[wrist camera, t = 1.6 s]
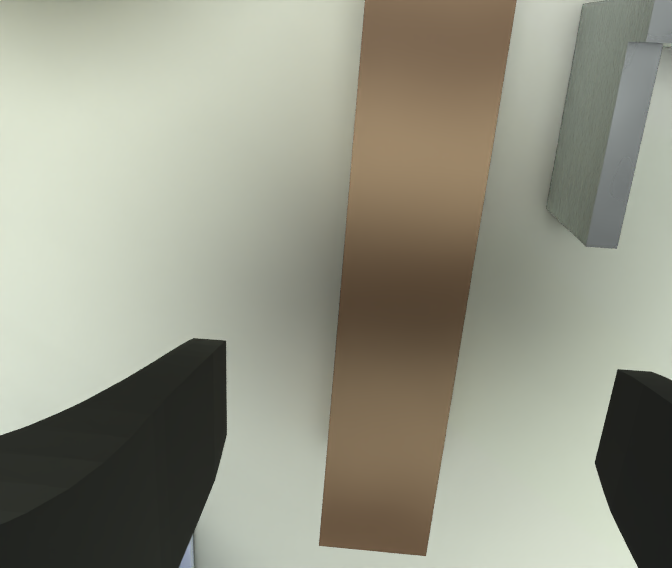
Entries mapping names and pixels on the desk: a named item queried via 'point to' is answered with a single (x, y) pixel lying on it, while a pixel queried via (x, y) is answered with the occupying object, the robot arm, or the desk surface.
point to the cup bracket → (606, 115)
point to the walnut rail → (408, 260)
